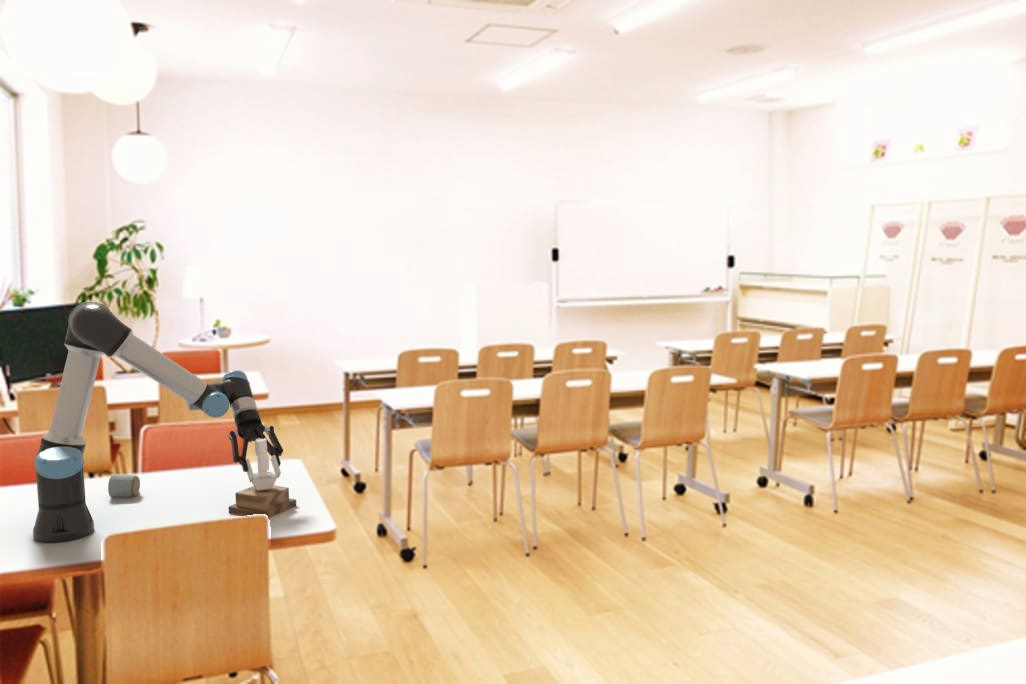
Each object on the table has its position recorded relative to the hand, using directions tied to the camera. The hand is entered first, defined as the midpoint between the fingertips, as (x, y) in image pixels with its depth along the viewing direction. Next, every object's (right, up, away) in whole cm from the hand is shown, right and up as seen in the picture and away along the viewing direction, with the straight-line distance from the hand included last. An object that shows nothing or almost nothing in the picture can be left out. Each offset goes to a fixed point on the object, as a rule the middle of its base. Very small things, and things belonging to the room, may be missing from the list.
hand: (265, 477), depth 256 cm
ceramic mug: (-50, -9, +18) cm, 54 cm away
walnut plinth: (-2, -10, +4) cm, 11 cm away
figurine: (-2, -4, +4) cm, 6 cm away
